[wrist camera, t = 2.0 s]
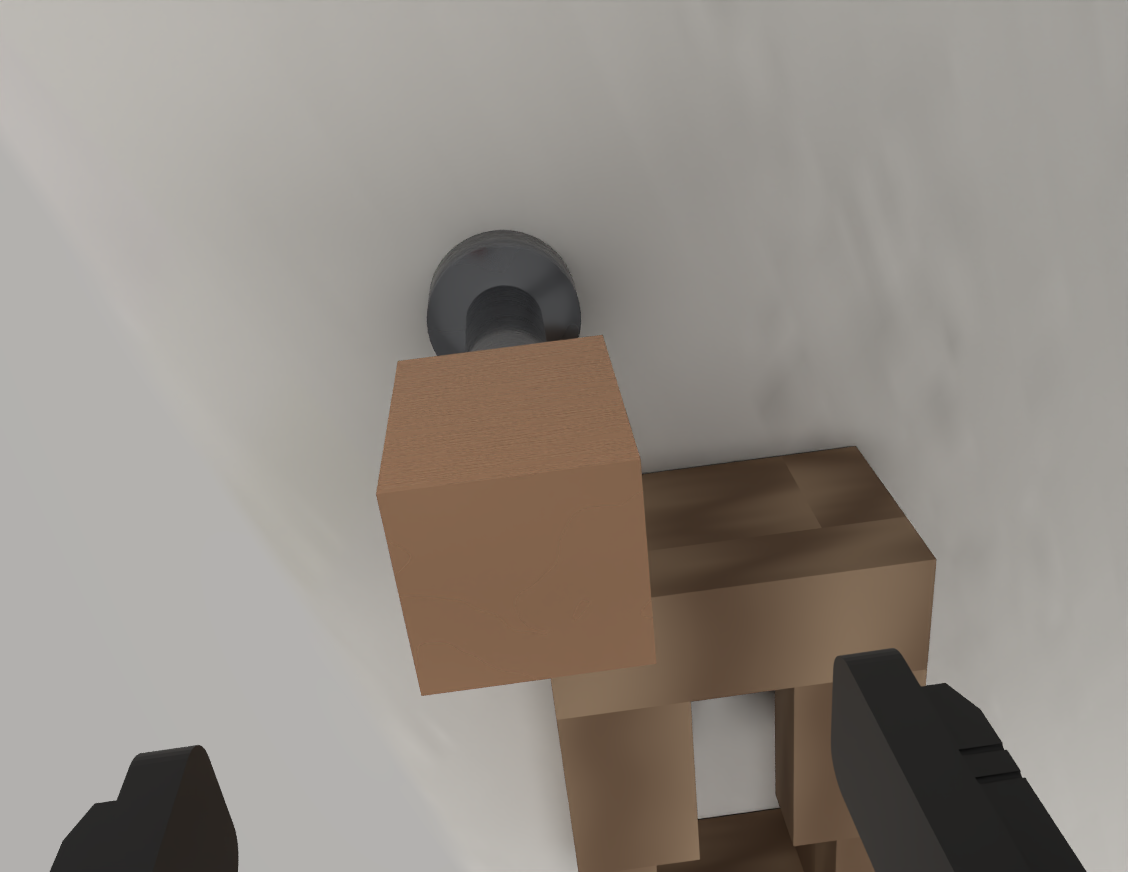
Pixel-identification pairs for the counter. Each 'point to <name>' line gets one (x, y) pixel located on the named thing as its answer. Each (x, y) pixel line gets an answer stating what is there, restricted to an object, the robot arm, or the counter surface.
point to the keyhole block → (744, 661)
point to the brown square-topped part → (513, 482)
